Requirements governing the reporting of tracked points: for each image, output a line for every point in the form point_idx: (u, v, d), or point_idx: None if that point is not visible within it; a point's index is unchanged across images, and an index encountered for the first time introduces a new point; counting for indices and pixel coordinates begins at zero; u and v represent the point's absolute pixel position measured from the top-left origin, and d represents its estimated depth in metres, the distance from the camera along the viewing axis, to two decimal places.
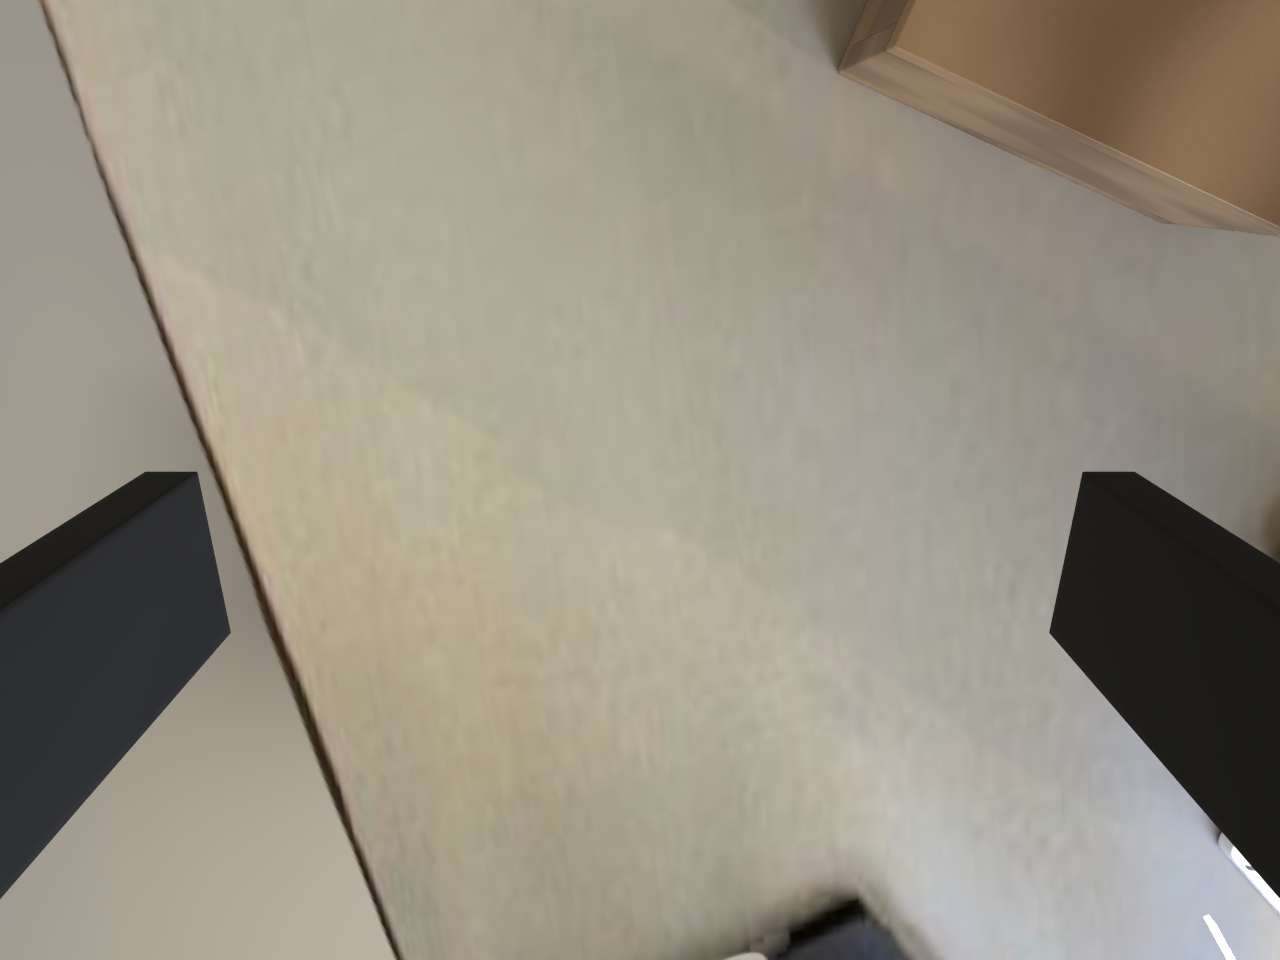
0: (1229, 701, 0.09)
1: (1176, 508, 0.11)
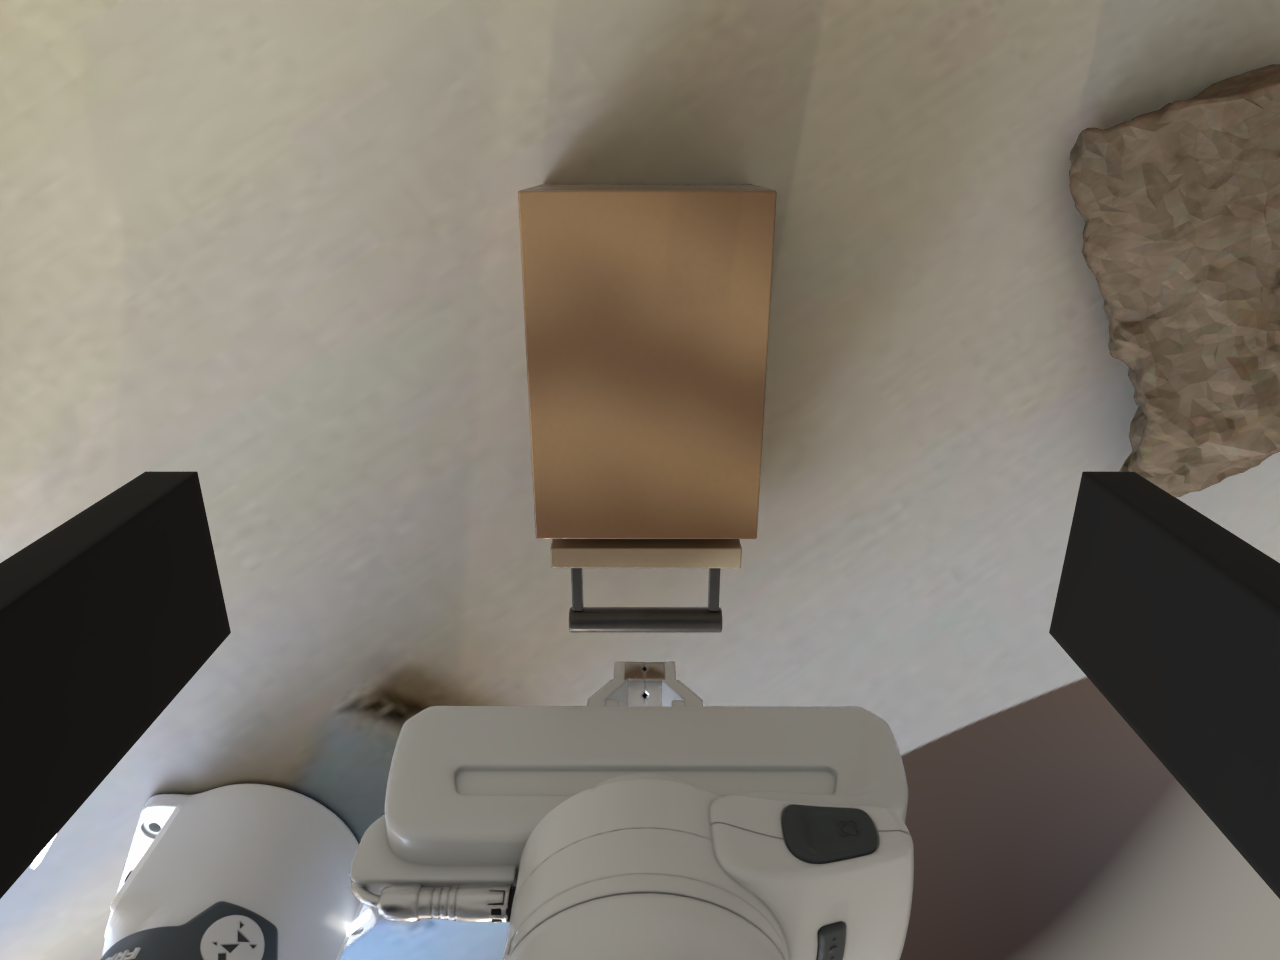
0: (1229, 701, 0.09)
1: (1176, 508, 0.11)
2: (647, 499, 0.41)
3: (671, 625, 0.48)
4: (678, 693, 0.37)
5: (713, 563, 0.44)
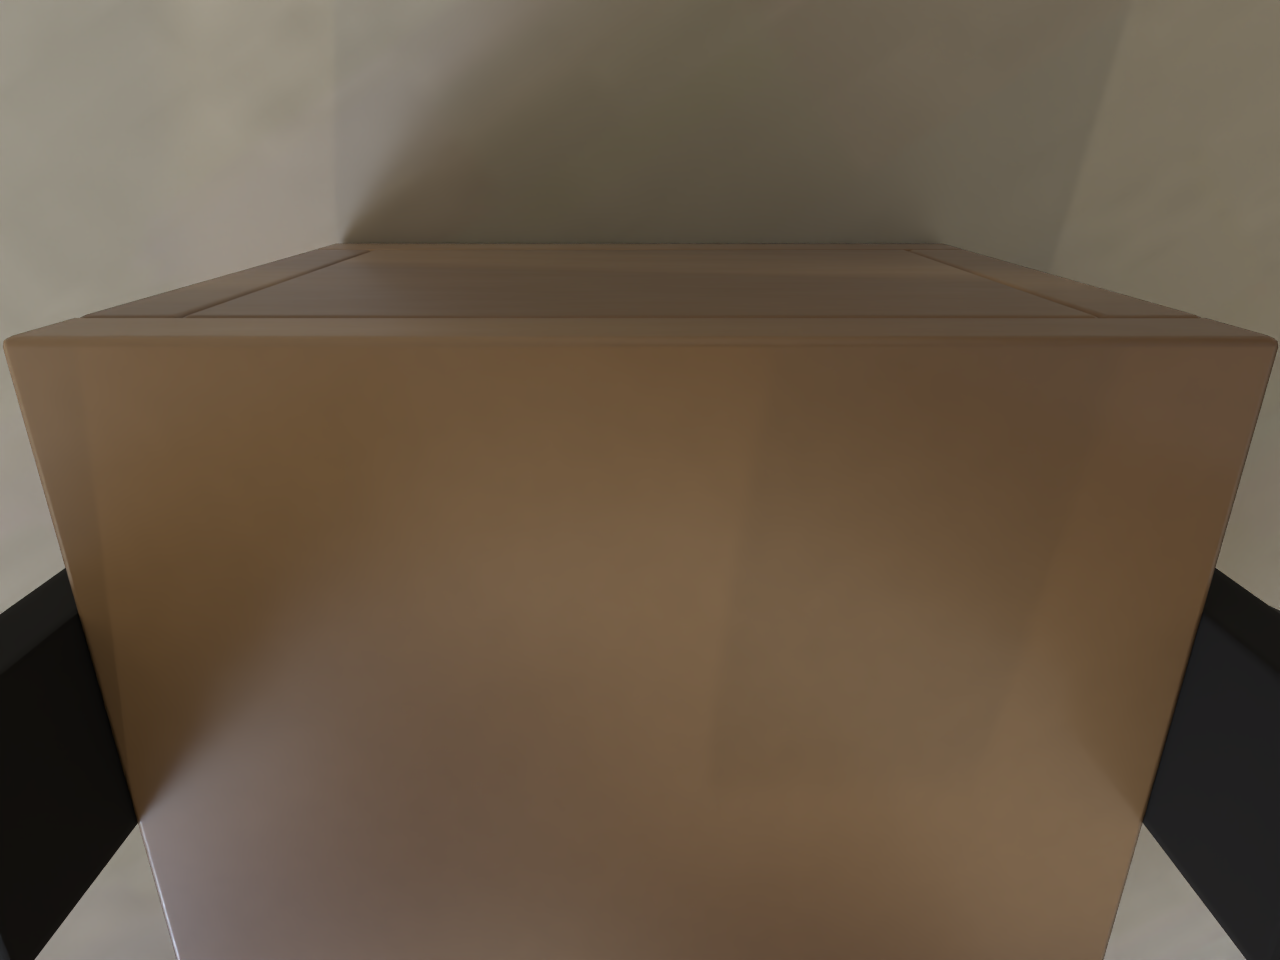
0: None
1: None
2: None
3: None
4: None
5: None
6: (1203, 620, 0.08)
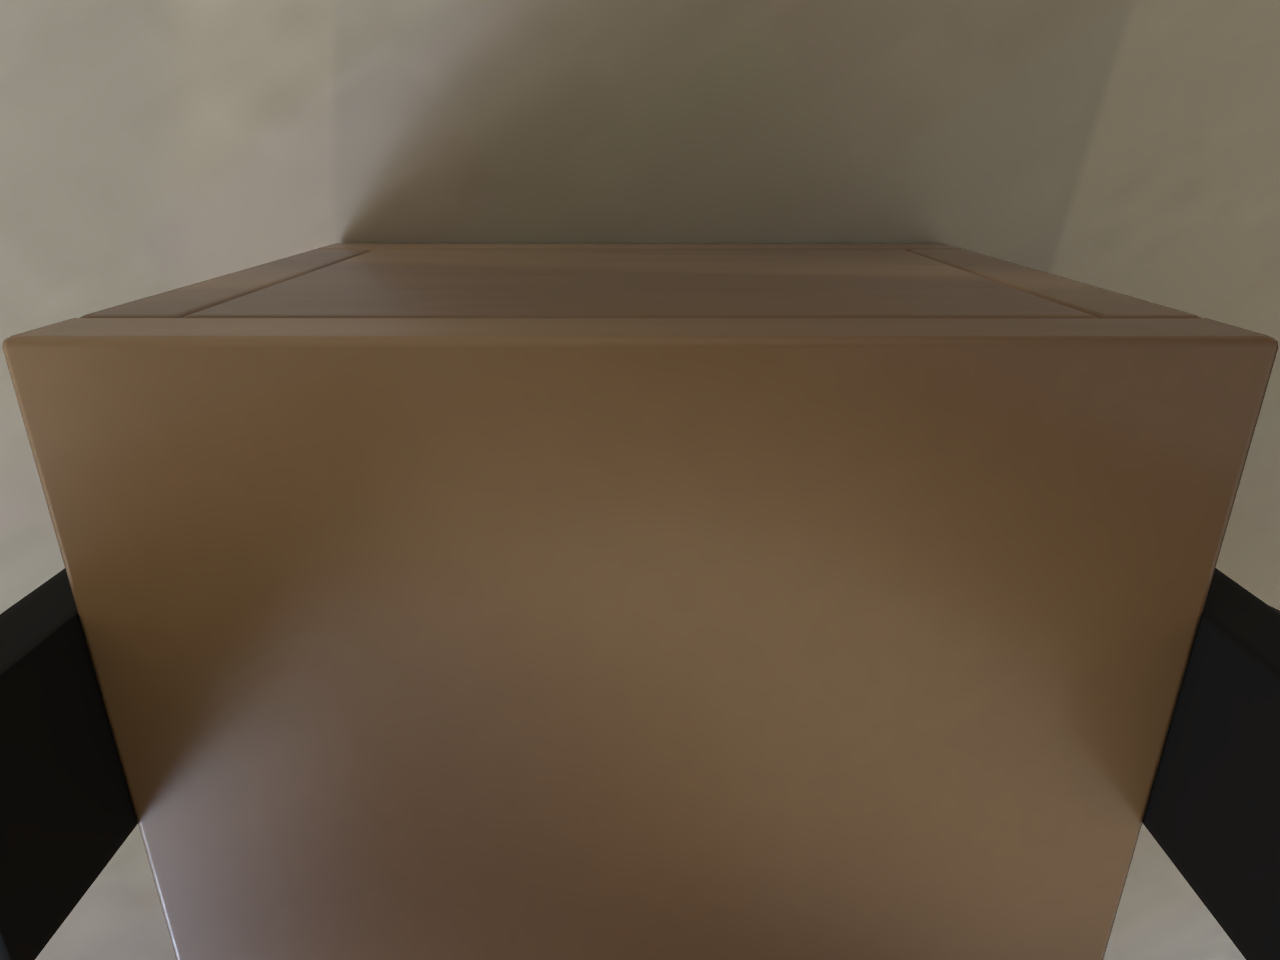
0: None
1: None
2: None
3: None
4: None
5: None
6: (1203, 620, 0.08)
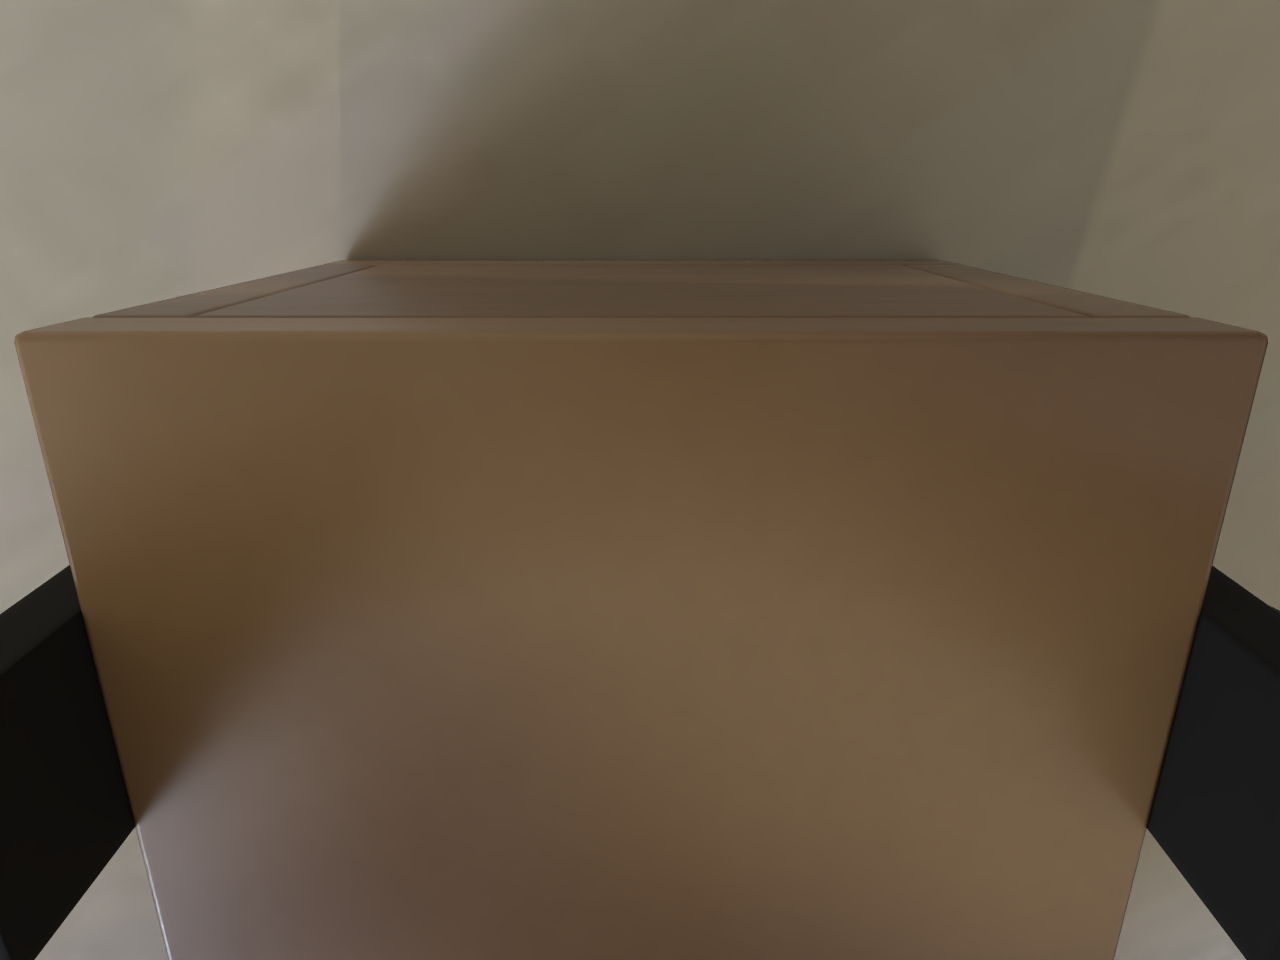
0: None
1: None
2: None
3: None
4: None
5: None
6: (1203, 620, 0.08)
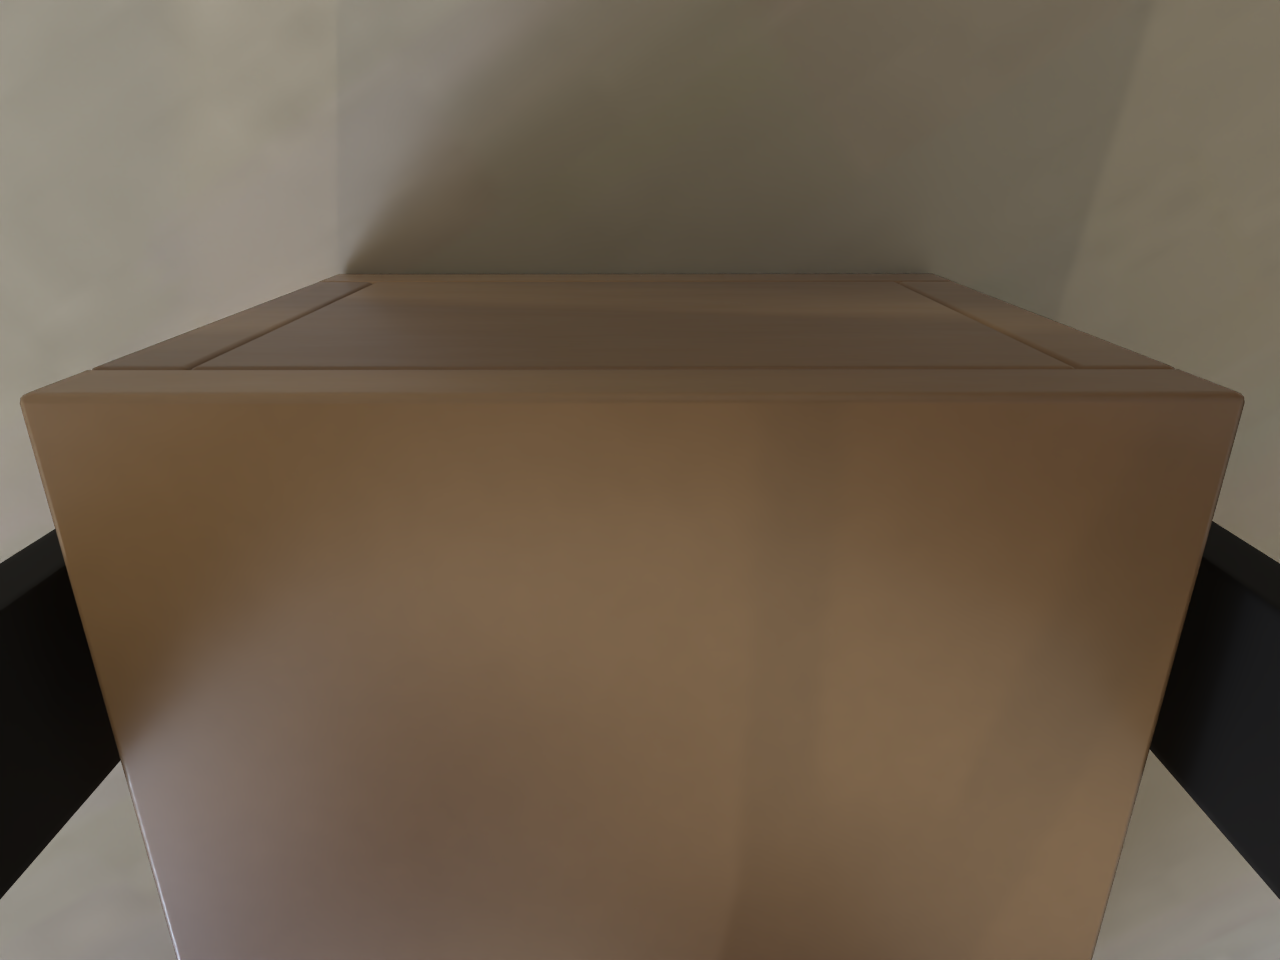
0: (1228, 701, 0.09)
1: None
2: None
3: None
4: None
5: None
6: None
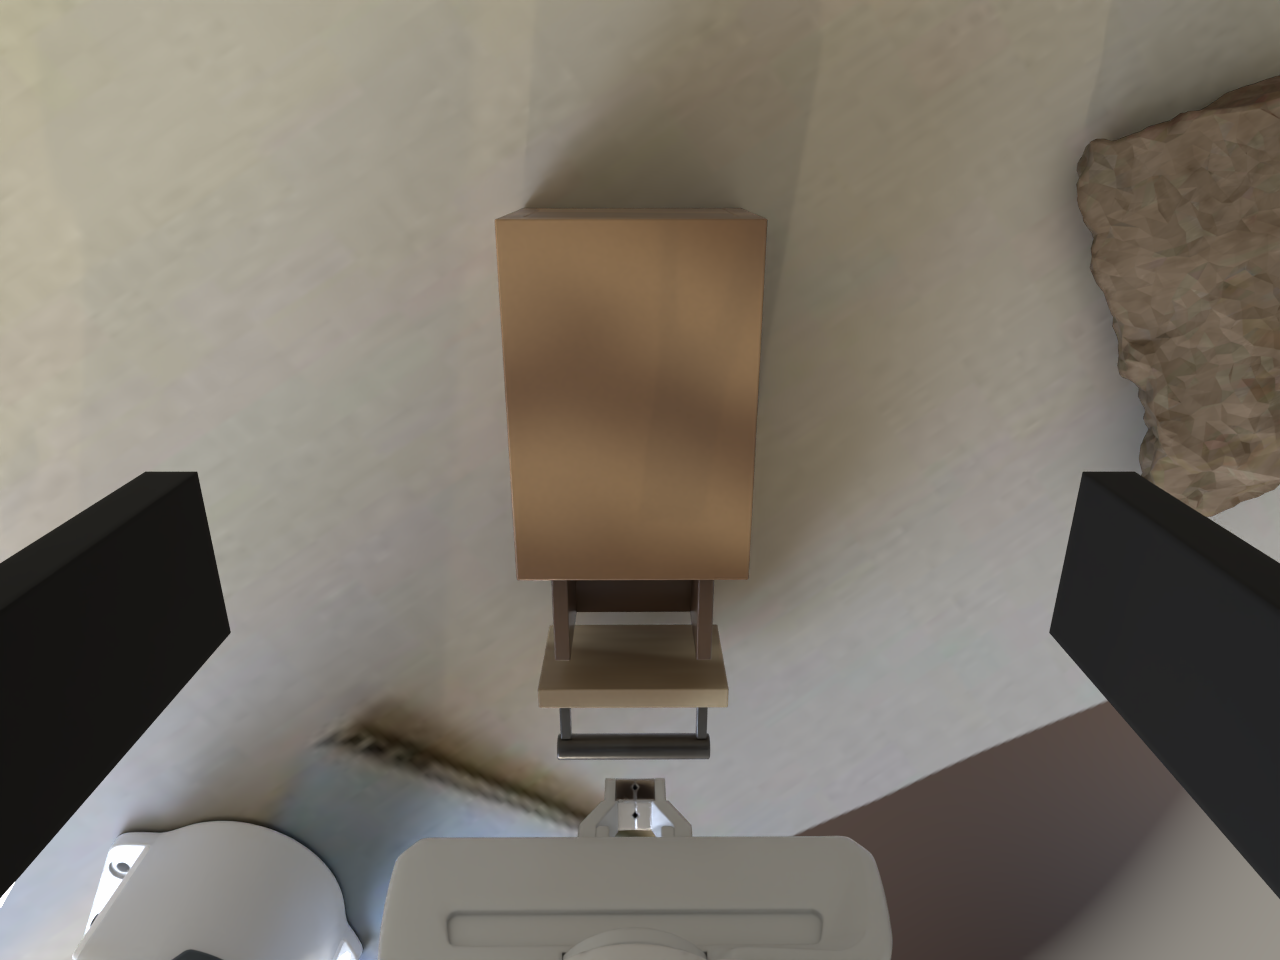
0: (1229, 701, 0.09)
1: (1176, 508, 0.11)
2: (633, 538, 0.39)
3: (659, 753, 0.48)
4: (668, 817, 0.37)
5: (700, 703, 0.44)
6: None
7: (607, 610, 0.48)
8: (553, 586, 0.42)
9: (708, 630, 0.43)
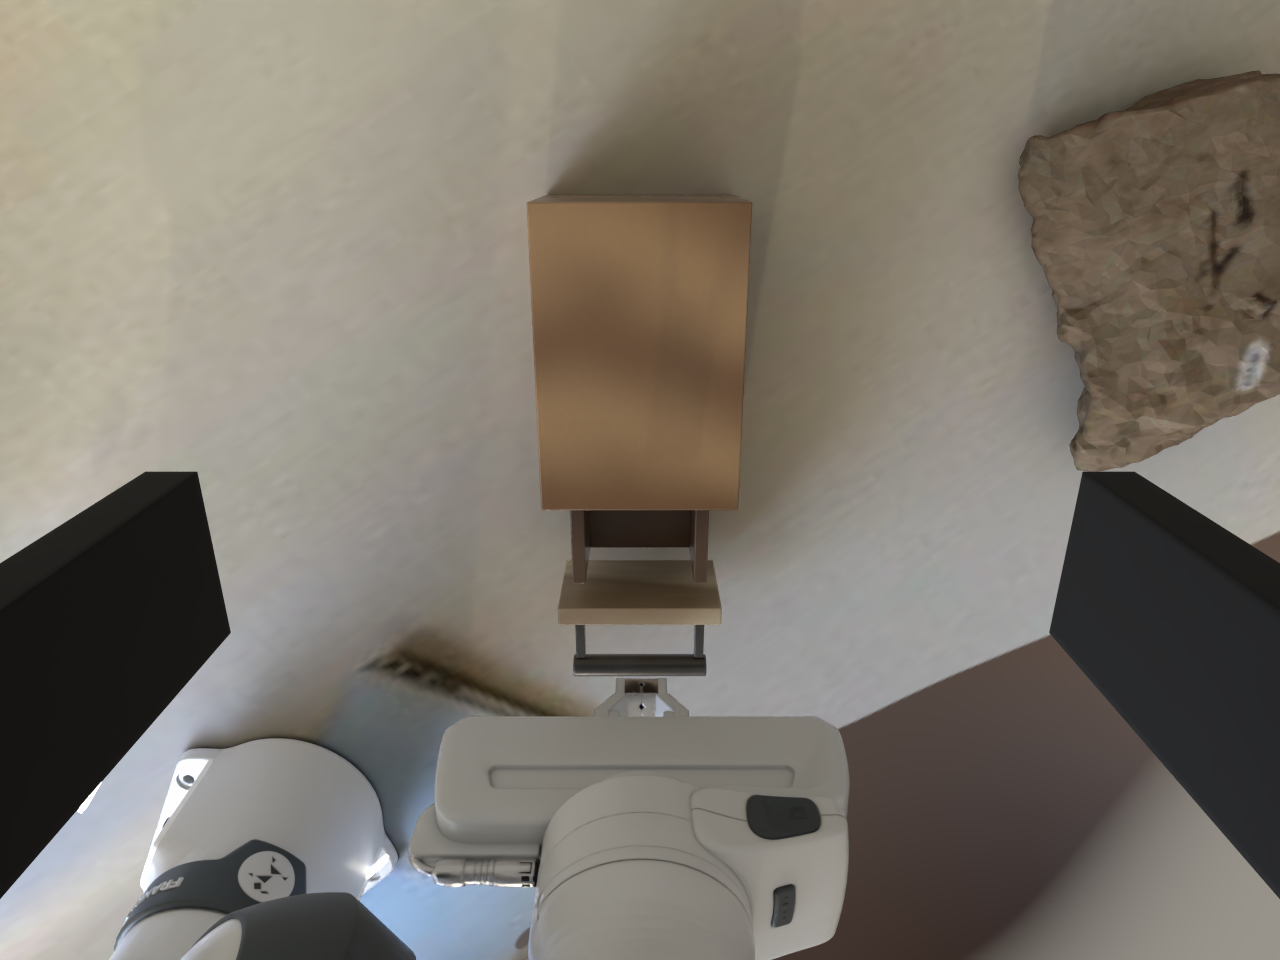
0: (1229, 701, 0.09)
1: (1176, 508, 0.11)
2: (640, 474, 0.46)
3: (662, 670, 0.55)
4: (669, 705, 0.45)
5: (697, 620, 0.51)
6: None
7: (617, 546, 0.55)
8: (572, 517, 0.49)
9: (704, 556, 0.50)
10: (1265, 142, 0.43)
